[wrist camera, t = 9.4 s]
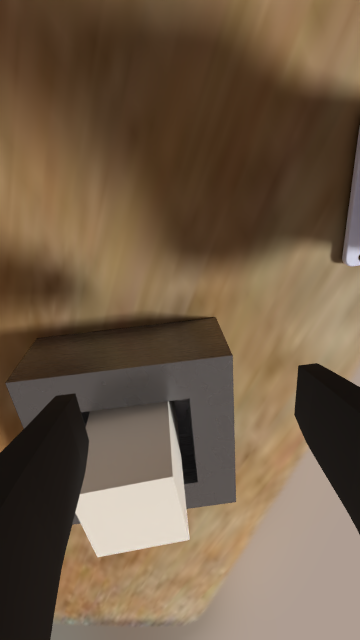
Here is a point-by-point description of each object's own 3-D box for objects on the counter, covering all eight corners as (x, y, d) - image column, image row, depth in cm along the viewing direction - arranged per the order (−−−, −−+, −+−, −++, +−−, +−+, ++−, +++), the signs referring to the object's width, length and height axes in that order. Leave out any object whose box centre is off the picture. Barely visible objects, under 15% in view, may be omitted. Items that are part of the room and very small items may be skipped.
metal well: (215, 317, 19) (232, 355, 15) (221, 446, 24) (235, 501, 20) (36, 338, 19) (5, 383, 15) (78, 465, 24) (62, 525, 20)
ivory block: (165, 367, 20) (172, 476, 13) (177, 419, 22) (189, 539, 15) (98, 380, 20) (67, 496, 13) (115, 431, 22) (97, 557, 15)
